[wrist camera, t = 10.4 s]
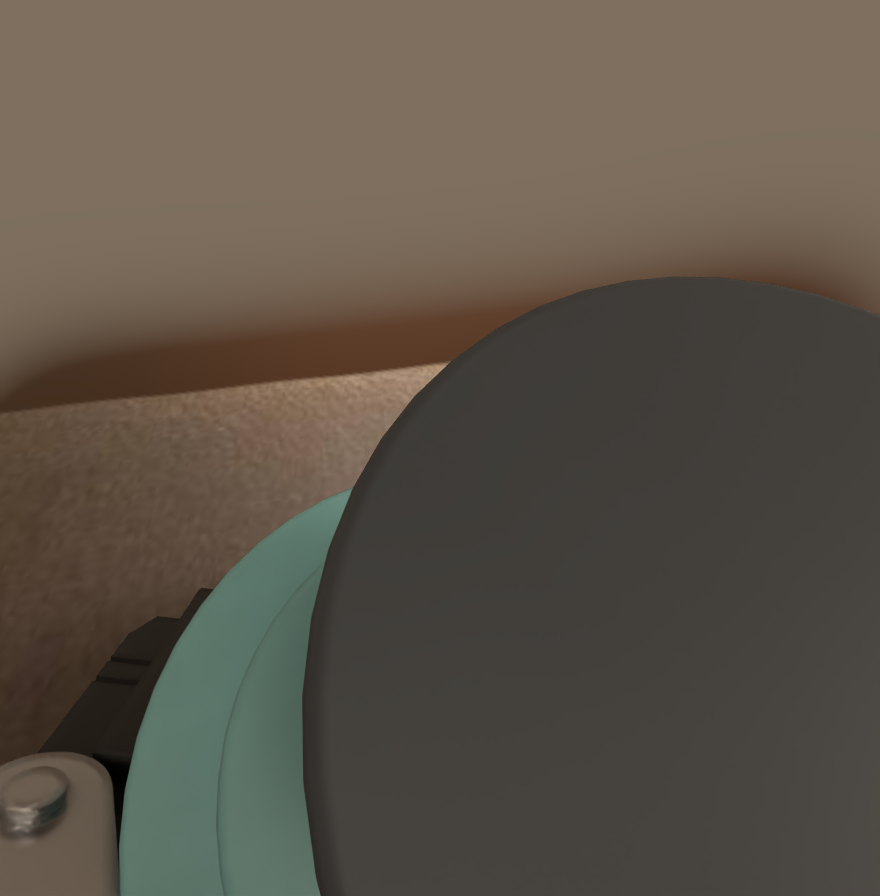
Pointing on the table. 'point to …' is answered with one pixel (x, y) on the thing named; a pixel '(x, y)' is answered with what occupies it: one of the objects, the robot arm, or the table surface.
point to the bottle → (555, 629)
